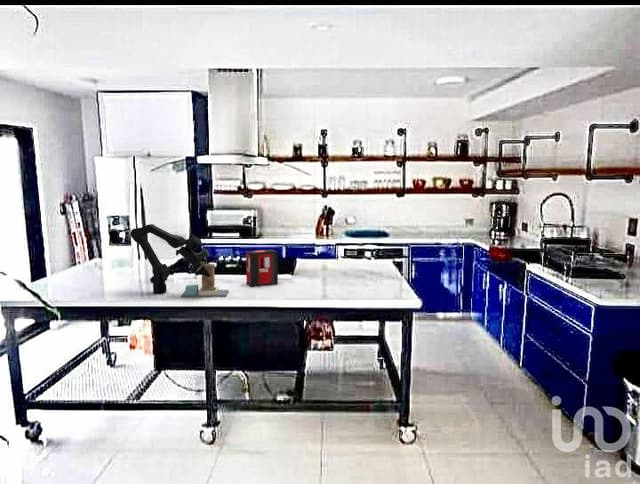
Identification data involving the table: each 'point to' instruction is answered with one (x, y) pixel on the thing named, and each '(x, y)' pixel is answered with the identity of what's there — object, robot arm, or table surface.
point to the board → (203, 292)
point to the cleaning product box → (261, 268)
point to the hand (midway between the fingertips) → (210, 275)
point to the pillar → (208, 281)
